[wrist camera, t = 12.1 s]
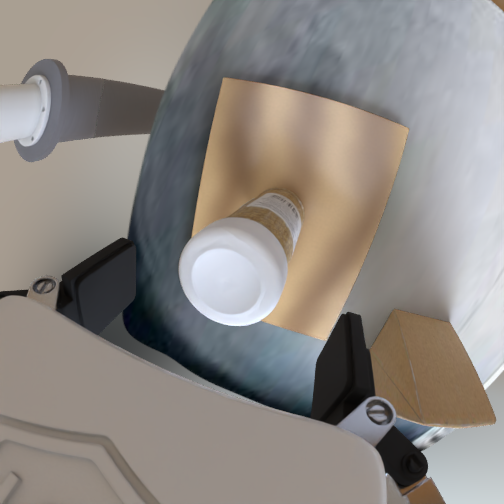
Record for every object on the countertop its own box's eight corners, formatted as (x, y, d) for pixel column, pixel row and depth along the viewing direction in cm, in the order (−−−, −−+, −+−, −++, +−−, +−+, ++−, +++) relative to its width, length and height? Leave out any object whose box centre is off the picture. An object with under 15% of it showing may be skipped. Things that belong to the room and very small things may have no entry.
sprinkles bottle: (243, 204, 24) (156, 261, 12) (287, 176, 22) (237, 204, 10) (271, 248, 24) (215, 342, 12) (316, 223, 23) (303, 306, 10)
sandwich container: (338, 398, 31) (328, 497, 18) (391, 306, 25) (422, 423, 12) (392, 407, 30) (397, 499, 16) (451, 322, 24) (498, 423, 10)
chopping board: (189, 286, 30) (183, 293, 29) (228, 80, 21) (223, 77, 20) (326, 332, 28) (325, 341, 27) (404, 129, 19) (409, 128, 18)
